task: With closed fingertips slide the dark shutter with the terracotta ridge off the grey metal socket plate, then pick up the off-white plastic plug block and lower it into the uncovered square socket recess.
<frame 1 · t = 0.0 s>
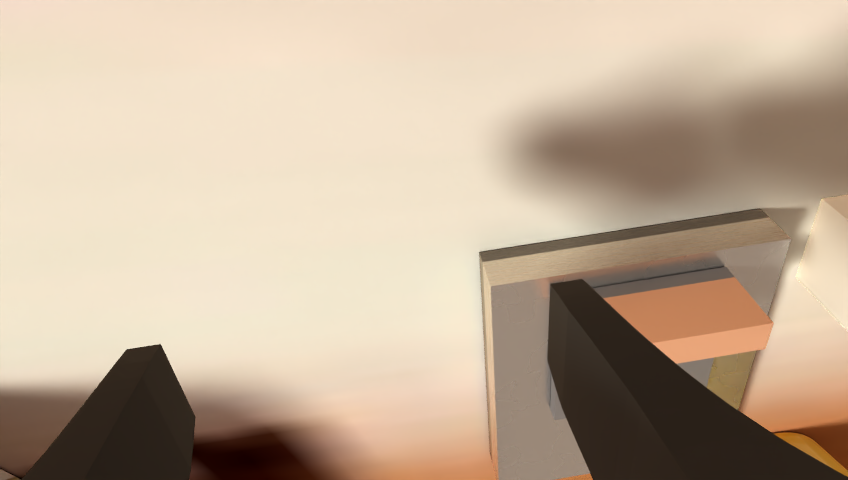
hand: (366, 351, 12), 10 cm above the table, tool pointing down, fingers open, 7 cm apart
socket plate: (608, 345, 28), on the table
shutter: (647, 371, 24), point 4 cm above the table, slide at 0.0 cm
plant pot: (756, 464, 35), on the table
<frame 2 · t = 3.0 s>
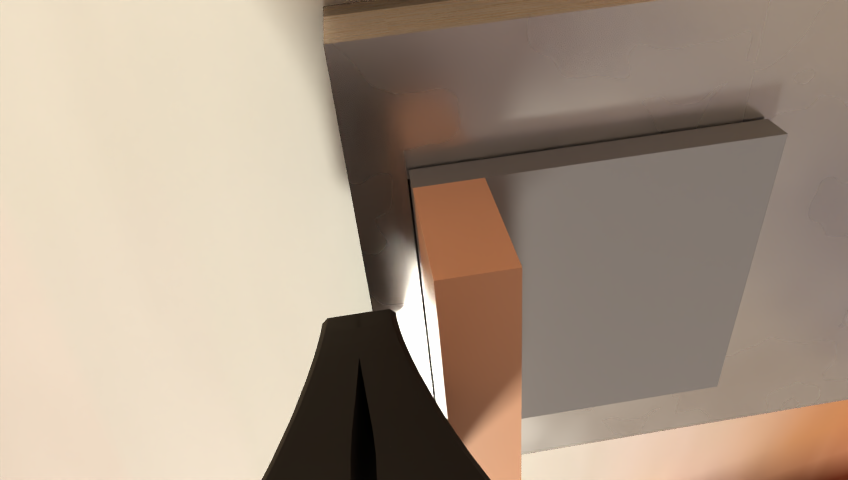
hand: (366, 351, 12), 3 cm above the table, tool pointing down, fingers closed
socket plate: (635, 214, 15), on the table
shutter: (607, 336, 12), point 4 cm above the table, slide at 0.2 cm, touching gripper
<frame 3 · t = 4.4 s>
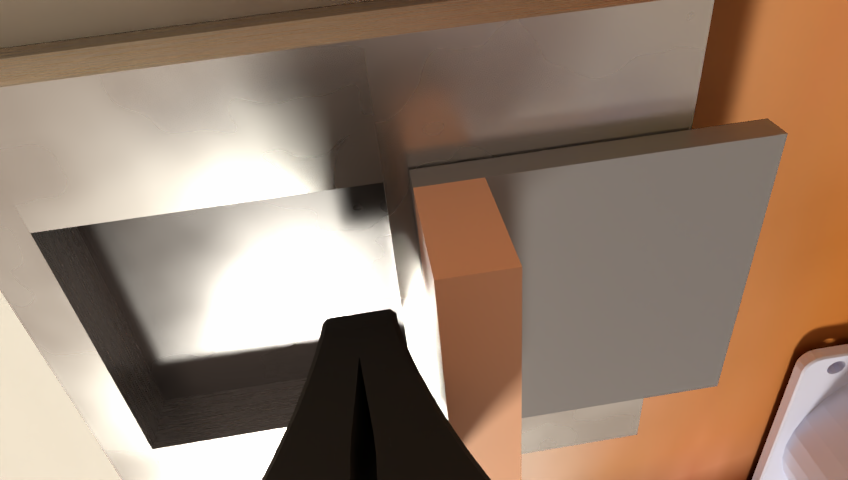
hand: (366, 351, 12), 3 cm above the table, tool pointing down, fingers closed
socket plate: (360, 255, 14), on the table
shutter: (607, 335, 12), point 4 cm above the table, slide at 6.7 cm, touching gripper
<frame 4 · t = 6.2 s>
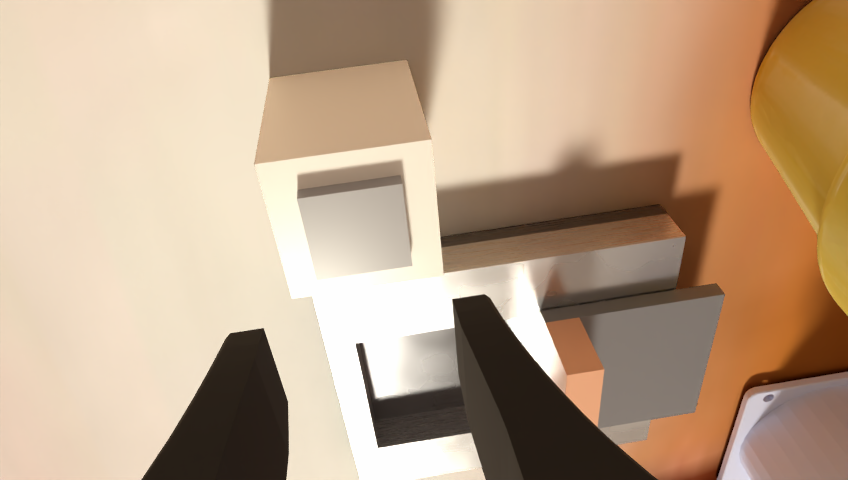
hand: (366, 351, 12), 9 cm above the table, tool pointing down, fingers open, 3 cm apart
socket plate: (492, 340, 26), on the table
shutter: (636, 389, 23), point 4 cm above the table, slide at 6.8 cm
plant pot: (840, 72, 21), on the table
plug: (349, 130, 20), on the table
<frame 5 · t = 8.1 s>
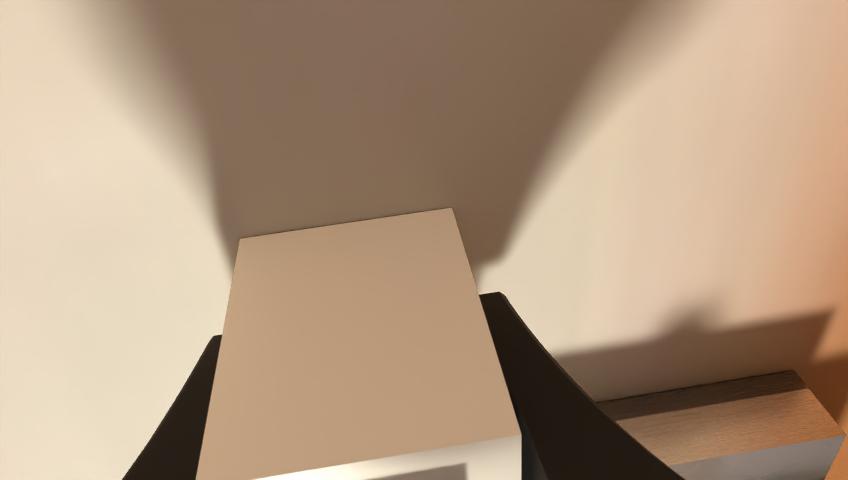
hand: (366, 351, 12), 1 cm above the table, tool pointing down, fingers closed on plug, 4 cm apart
plug: (362, 302, 13), on the table, touching gripper
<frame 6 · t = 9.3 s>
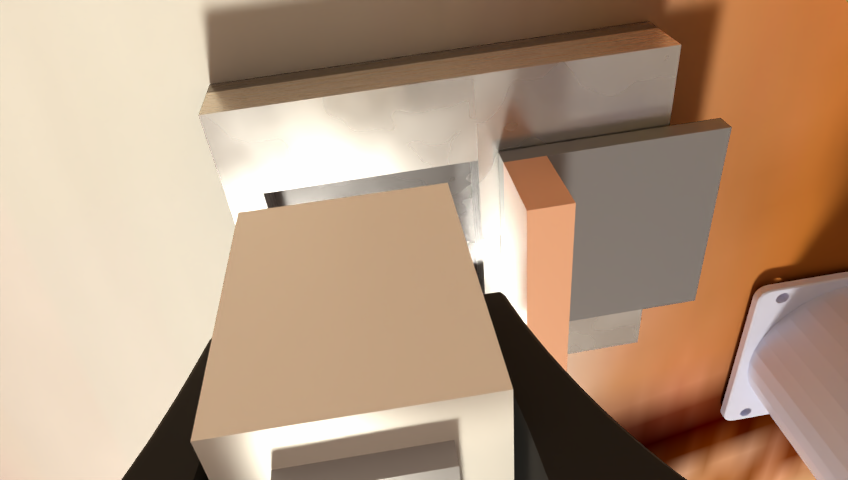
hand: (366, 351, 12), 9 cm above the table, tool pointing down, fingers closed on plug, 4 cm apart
socket plate: (447, 214, 21), on the table
shutter: (620, 256, 18), point 4 cm above the table, slide at 6.8 cm
plug: (359, 278, 13), point 7 cm above the table, touching gripper
when the fingers open (3 cm above the table, at t = 11.1 s): plug stays where it is, resting on socket plate.
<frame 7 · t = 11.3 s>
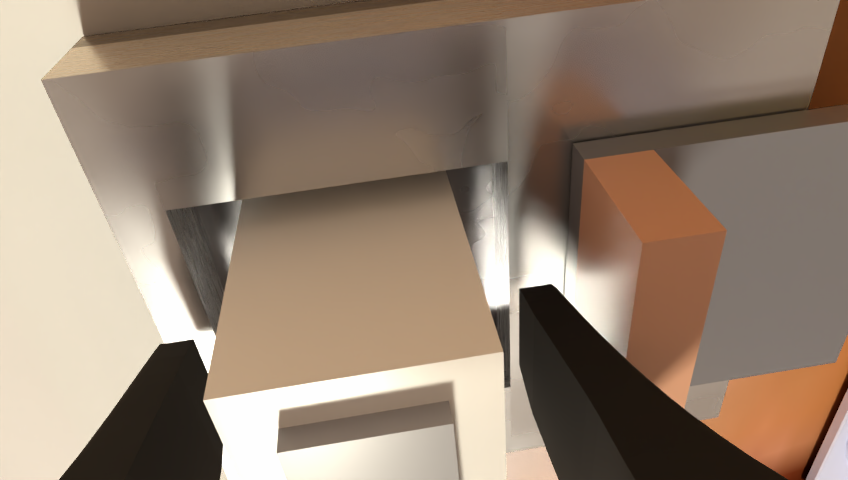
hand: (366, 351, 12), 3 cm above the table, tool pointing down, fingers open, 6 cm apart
socket plate: (456, 238, 14), on the table
shutter: (755, 307, 12), point 4 cm above the table, slide at 7.4 cm, touching gripper
plug: (359, 258, 14), point 1 cm above the table, touching socket plate
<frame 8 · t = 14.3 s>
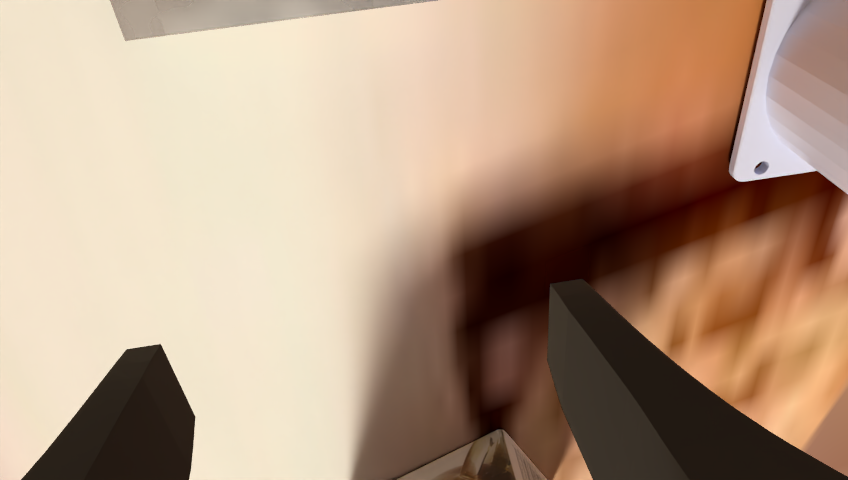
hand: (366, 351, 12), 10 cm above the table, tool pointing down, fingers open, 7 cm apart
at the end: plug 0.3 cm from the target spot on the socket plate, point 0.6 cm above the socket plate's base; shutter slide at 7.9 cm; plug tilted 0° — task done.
